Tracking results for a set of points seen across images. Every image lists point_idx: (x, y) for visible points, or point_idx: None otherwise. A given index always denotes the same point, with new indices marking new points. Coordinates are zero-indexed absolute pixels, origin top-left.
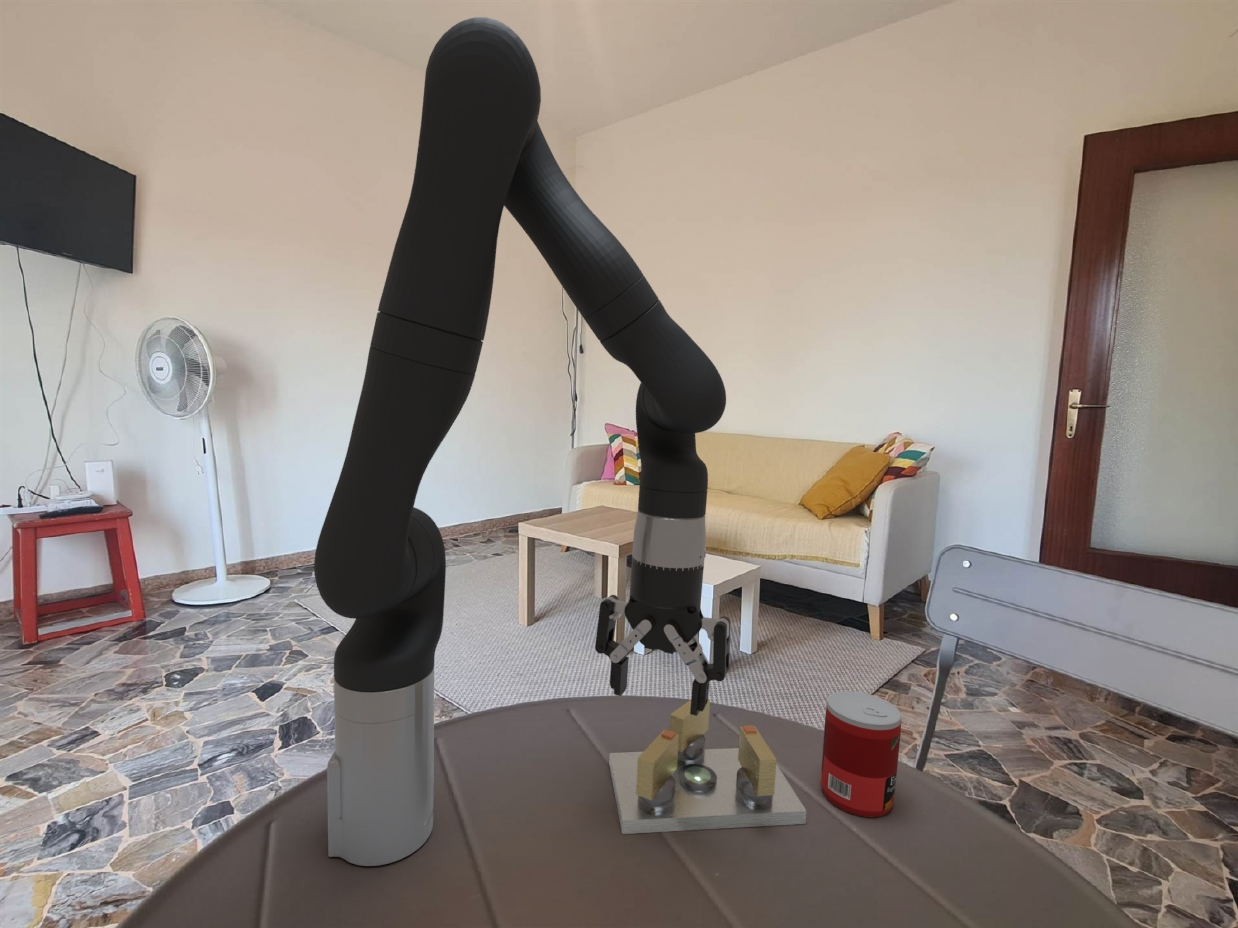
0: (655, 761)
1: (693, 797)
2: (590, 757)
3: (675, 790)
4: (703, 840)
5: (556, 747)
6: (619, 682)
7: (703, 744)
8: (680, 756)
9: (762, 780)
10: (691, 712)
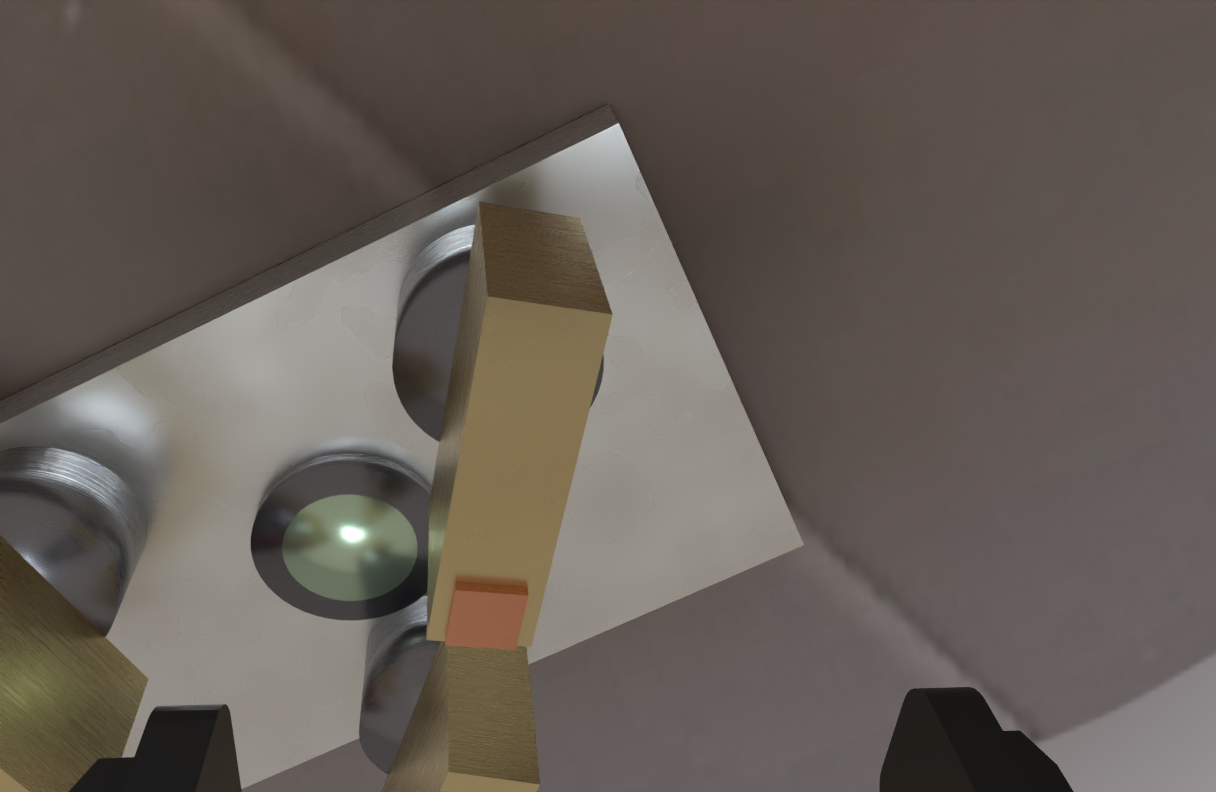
0: (480, 326)
1: (330, 416)
2: (877, 518)
3: None
4: (219, 212)
5: (1037, 519)
6: (984, 788)
7: (361, 714)
8: None
9: None
10: (203, 713)
